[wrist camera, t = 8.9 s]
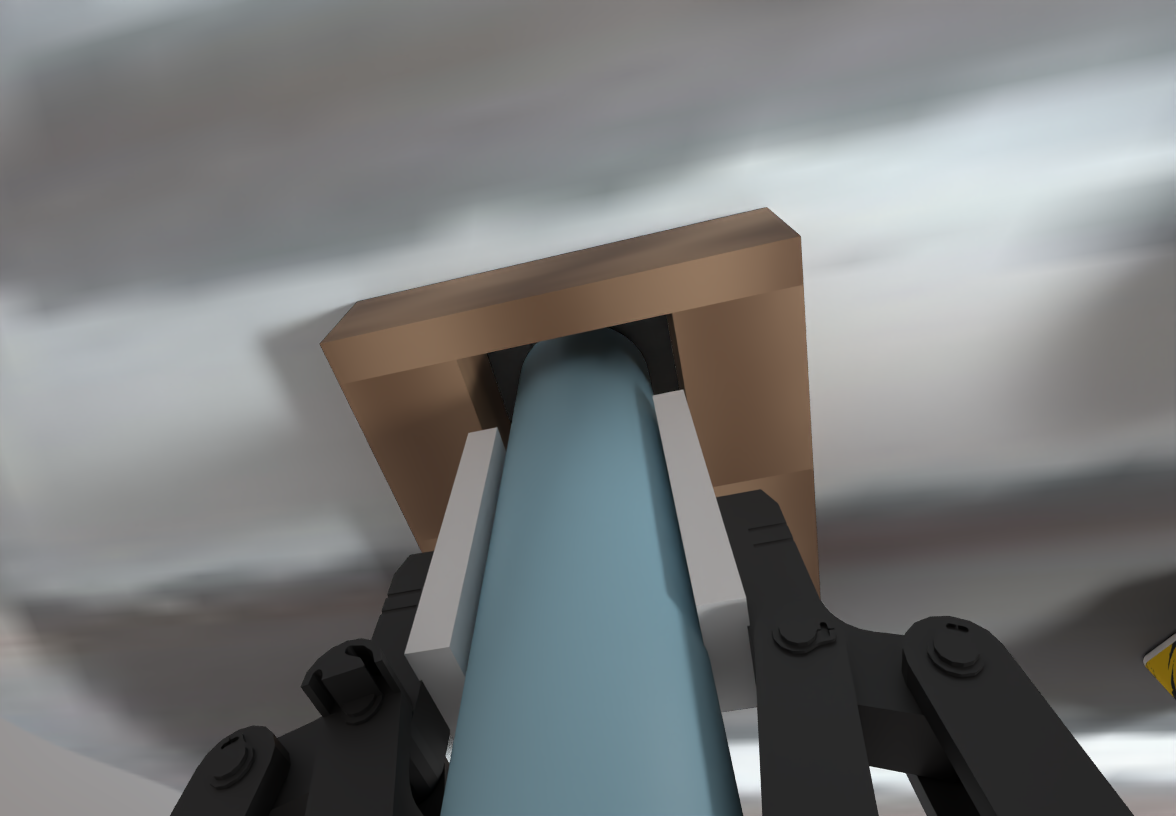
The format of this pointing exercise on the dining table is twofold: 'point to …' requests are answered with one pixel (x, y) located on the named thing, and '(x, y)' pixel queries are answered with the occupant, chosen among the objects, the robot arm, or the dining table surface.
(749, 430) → the socket board
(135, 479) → the dining table surface
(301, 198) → the dining table surface
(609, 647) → the peg
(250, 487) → the dining table surface
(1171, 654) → the medicine bottle
